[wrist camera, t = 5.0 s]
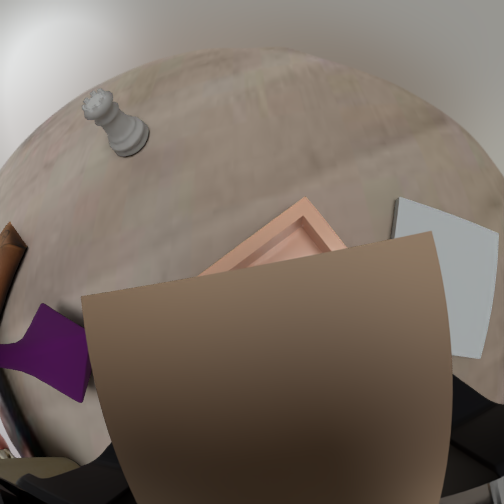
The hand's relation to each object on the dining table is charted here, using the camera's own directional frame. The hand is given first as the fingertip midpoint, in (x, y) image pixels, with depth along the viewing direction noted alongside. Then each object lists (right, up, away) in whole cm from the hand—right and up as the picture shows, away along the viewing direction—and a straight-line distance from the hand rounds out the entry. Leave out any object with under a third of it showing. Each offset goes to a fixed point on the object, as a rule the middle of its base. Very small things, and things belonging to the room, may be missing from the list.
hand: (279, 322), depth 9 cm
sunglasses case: (-37, -3, +18) cm, 41 cm away
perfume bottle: (-19, -8, +15) cm, 25 cm away
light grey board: (+16, 0, +11) cm, 19 cm away
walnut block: (+1, -2, +6) cm, 7 cm away
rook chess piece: (-14, +14, +18) cm, 27 cm away
